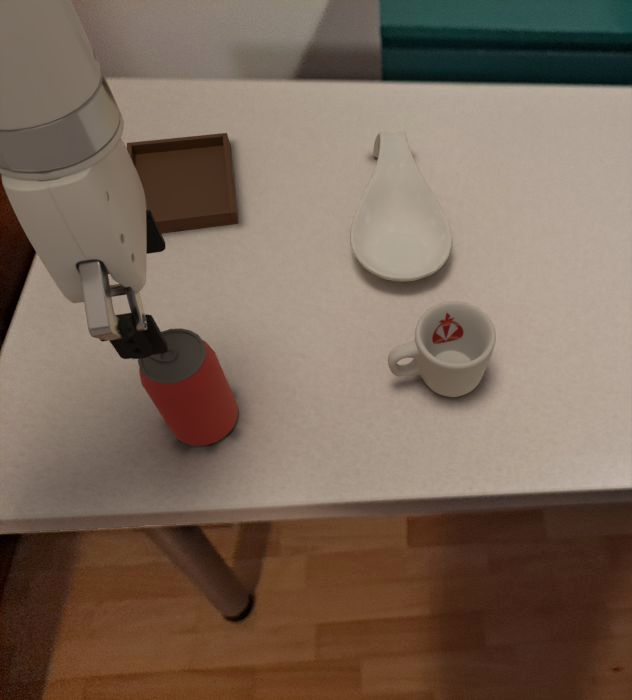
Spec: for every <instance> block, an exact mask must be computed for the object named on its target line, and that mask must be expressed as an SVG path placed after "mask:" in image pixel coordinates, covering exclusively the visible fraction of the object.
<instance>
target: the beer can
mask: <svg viewBox="0 0 632 700" xmlns="http://www.w3.org/2000/svg"><path fill="white" fill-rule="evenodd" d="M161 333H162V335H163V336H164V338H165V340H166V342H167V344H168V351H167V352H166V353H162V354H156V355H151V356H149V357H147V358H141V359H137V364H138V374H139V378H140V382H141V386H142V387H143V389H144V390H145V392H146V393H147V395H148V397H149V399H150V400H151V401H152V403H153V404H154V406H155V408H156V410H158V412H159V414H160V416H161V417H162V418H163V420H164V422H165V424H166V425H167V426H168V428H169V430H170V432H172V434H173V435H174V436H175V438H176V439H177V440H178V441H181V442H182V443H183V444H186V445H189V446H190V445H191V446H196V447H198V446H199V447H200V446H208V445H211V444H214V443H216V442H219V441H221V440H222V439H224V438H225V437H227V436H228V434H229V433H230V432H231V431H232V430H233V428H234V427H235V425H236V422H237V420H238V418H239V417H238V416H239V407H238V404H237V401H236V398H235V396H234V394H233V391H232V389H231V387H230V383H229V381H228V379H227V377H226V375H225V373H224V370H223V368H222V366H221V363H220V360H219V359H218V355H217V354H216V351H215V350H214V349H213V348H212V347H211V345H210V344H209V343H208V342H207V341H206V340H204V339H202V337H201V336H200V335H199V334H198V333H196V332H194V331H192V330H190V329H185V328H169V329H166V330H163V331H161Z"/></svg>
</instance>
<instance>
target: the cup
mask: <svg viewBox="0 0 632 700" xmlns="http://www.w3.org/2000/svg"><path fill="white" fill-rule="evenodd" d="M496 342H497V333H496V328H495V325H494V323H493V321H492V319H491V318H490V317H489V316H488V314H487V313H486V312H485V311H483V310H482V309H480V307H477V306H476V305H474V304H471V303H468V302H464V301H458V300H450V301H444V302H441V303H440V302H439V303H437V304H434V305H433V306H431V307H429V308H428V309H427V310H426V311H425V312H423V313H422V315H420V318H419V319H418V321H417V323H416V326H415V331H414V339H413V340H412V341H410V342H406V343H401V344H399V345H397V346H396V347H394V348H392V349H391V350H390V351H389V353H388V355H387V366H388V368H389V371H390V372H391V374H392V375H394V376H395V377H401V378H405V377H411V376H416V375H417V376H418V375H420V376H421V378H422V379H423V381H424V383H425V384H426V386H427V387H428V388H429V389H430V390H431V391H433V392H434V393H436V394H437V395H440V396H444V397H448V398H457V397H461V396H462V397H463V396H465V395H467V394H469V393H471V392H472V391H473V390H474V389H475V388H476V387H477V386H478V385H479V384H480V382H481V381H482V378H483V377H484V374H485V372H486V369H487V367H488V364H489V362H490V359H491V357H492V354H493V352H494V350H495V349H494V348H495V346H496ZM409 358H411V359H412V360H411V361H410V362H408V363H404V364H398V362H400V361H401V360H403V359H404V360H405V359H409Z"/></svg>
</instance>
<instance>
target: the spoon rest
mask: <svg viewBox="0 0 632 700" xmlns="http://www.w3.org/2000/svg"><path fill="white" fill-rule="evenodd" d="M372 154H373V157H374V158H376V159H377V161H376V163H375V167H374V170H373V173H372V175H371V177H370V179H369V182H368V184H367V186H366V188H365V189H364V191H363V194H362V196H361V199H360V201H359V203H358V206H357V208H356V210H355V213H354V215H353V218H352V221H351V225H350V231H349V244H350V248H351V251H352V254H353V255H354V257H355V259H356V260H357V261H358V263H359V264H360V265H361V266H362V267H363V268H364V269H366V271H368V272H369V273H371V274H372V275H374V276H376V277H378V278H381V279H384V280H387V281H393V282H414V281H418V280H421V279H422V280H423V279H424V278H428V277H429V276H431V275H434V274H435V273H436V272H438V271H439V270H440V269H441V268H442V267H443V266H444V265H445V264H446V262H447V261H448V258H449V256H450V255H451V251H452V248H453V231H452V228H451V224H450V222H449V220H448V218H447V215H446V213H445V211H444V209H443V207H442V206H441V204H440V203H439V201H438V198H437V197H436V195H435V193H434V192H433V191H432V189H431V187H430V186H429V184H428V182H427V181H426V179H425V177H424V176H423V174H422V172H421V170H420V168H419V166H418V165H417V162H416V160H415V158H414V156H413V153H412V151H411V147H410V143H409V140H408V137H407V133H406V132H405V131H399V132H384V131H379V132H378V133H377V135H376V137H375V139H374V142H373V150H372Z"/></svg>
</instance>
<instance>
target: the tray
mask: <svg viewBox="0 0 632 700" xmlns="http://www.w3.org/2000/svg"><path fill="white" fill-rule="evenodd" d="M126 149H127V151H128V153H129V155H130V157H131V159H132V161H133V163H134V166H135V168H136V170H137V173H138V175H139V178H140V180H141V183H142V186H143V190H144V194H145V199H146V203H147V209H146V211H148V210H151V212H152V215H153V217H154V219H155V221H156V223H157V225H158V228H159V230H160V232H161V234H164V233H173V232H180V231H189V230H196V229H204V228H213V227H221V226H227V225H236V224H237V225H238V224H239V215H238V206H237V197H236V188H235V177H234V169H233V167H234V166H233V160H232V149H231V143H230V139H229V135H228V133H227V132H221V133H220V132H219V133H212V134H201V135H193V136H191V135H190V136H181V137H171V138H163V139H162V138H161V139H152V140H143V141H132V142H126Z"/></svg>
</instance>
